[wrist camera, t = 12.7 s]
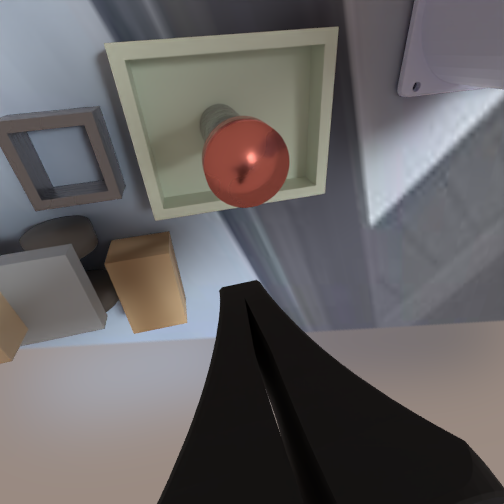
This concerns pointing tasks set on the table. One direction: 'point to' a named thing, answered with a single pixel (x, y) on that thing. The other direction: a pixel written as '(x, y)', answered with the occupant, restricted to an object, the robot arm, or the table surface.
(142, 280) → the block
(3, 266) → the trolley
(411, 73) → the robot arm
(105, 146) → the socket
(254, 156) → the pin
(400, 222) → the table surface
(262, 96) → the tray
